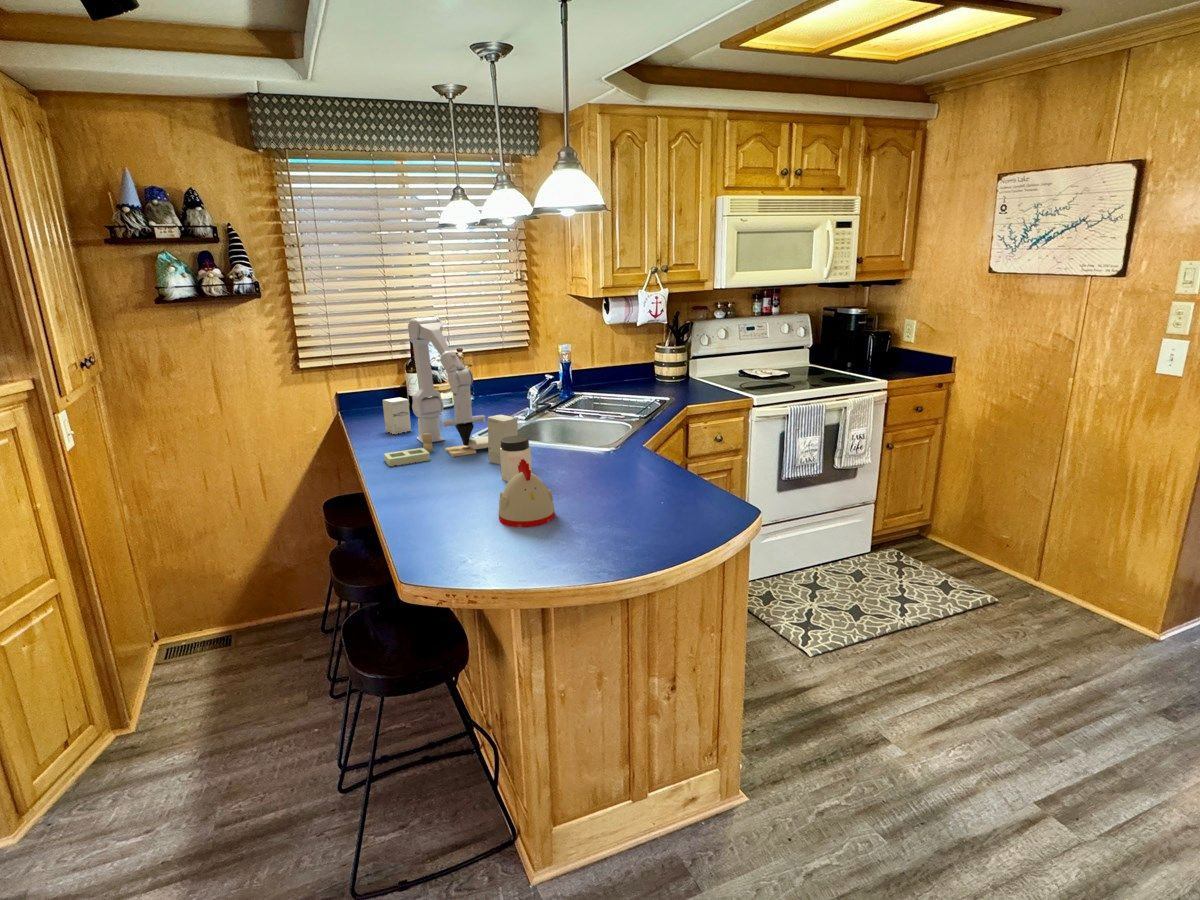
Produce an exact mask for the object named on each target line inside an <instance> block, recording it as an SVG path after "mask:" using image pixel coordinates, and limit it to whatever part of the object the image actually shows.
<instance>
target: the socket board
mask: <svg viewBox="0 0 1200 900" xmlns="http://www.w3.org/2000/svg"><path fill="white" fill-rule="evenodd" d="M430 453H431V452H428V451H427V450H425V449H424V448H423V447H418V448H412V449H406V450H399V451H391V452H387V453H386V452H385V453H383V460H385V461H386V462H385V461H384V462H385V463H386V465H388V466H389V467H390V466H391V467H395V466H394V465H397V466H402V464H403V465H408V464H409V463H410V464H415V462H416V463H420V462H421V463H422V462H426V461H427V462H428V461H431V454H430ZM410 464H409V465H410Z"/></svg>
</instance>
